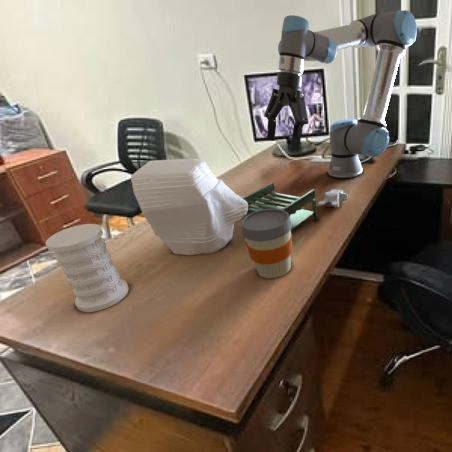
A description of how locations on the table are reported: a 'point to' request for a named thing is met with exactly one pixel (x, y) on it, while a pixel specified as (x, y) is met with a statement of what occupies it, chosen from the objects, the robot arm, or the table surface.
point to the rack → (292, 208)
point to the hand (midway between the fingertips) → (282, 143)
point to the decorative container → (88, 267)
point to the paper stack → (187, 205)
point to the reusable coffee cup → (269, 241)
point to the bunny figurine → (333, 198)
